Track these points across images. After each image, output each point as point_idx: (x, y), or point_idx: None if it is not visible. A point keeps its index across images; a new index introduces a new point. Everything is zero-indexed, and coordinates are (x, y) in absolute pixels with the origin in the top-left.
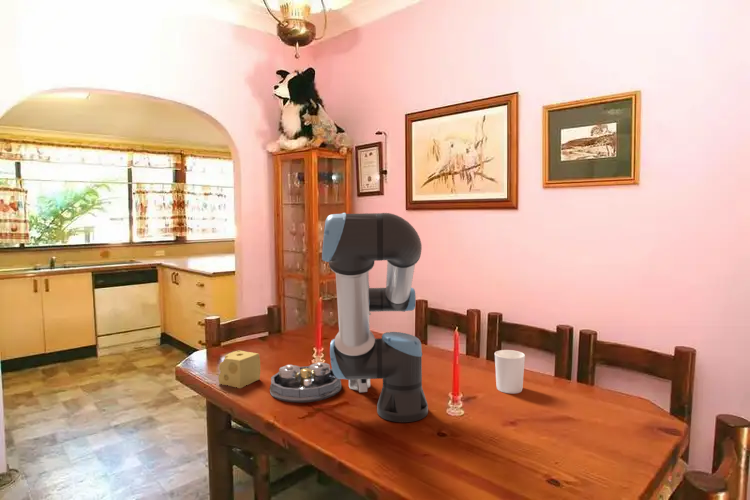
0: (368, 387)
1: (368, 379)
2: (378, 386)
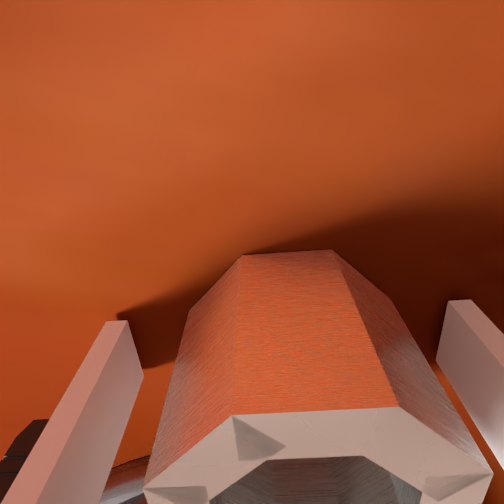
0: (357, 272)
1: (385, 326)
2: (343, 160)
